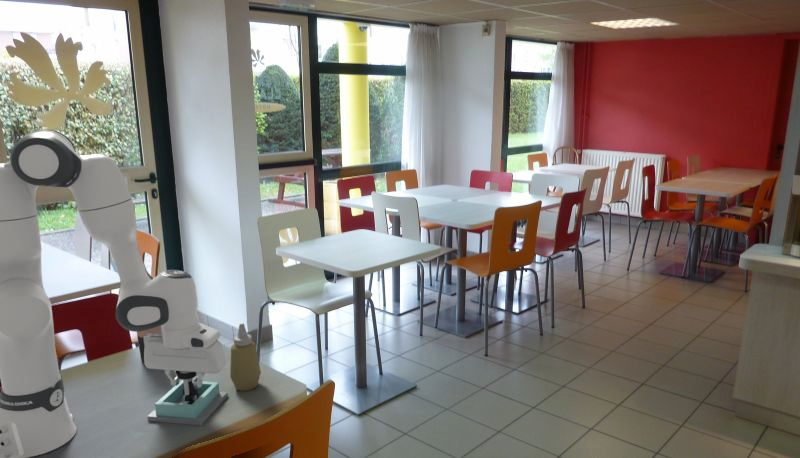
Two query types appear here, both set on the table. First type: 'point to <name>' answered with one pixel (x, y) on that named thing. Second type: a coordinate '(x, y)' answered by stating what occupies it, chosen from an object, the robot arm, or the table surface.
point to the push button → (188, 386)
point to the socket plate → (188, 405)
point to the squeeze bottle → (244, 361)
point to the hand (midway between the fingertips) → (186, 385)
